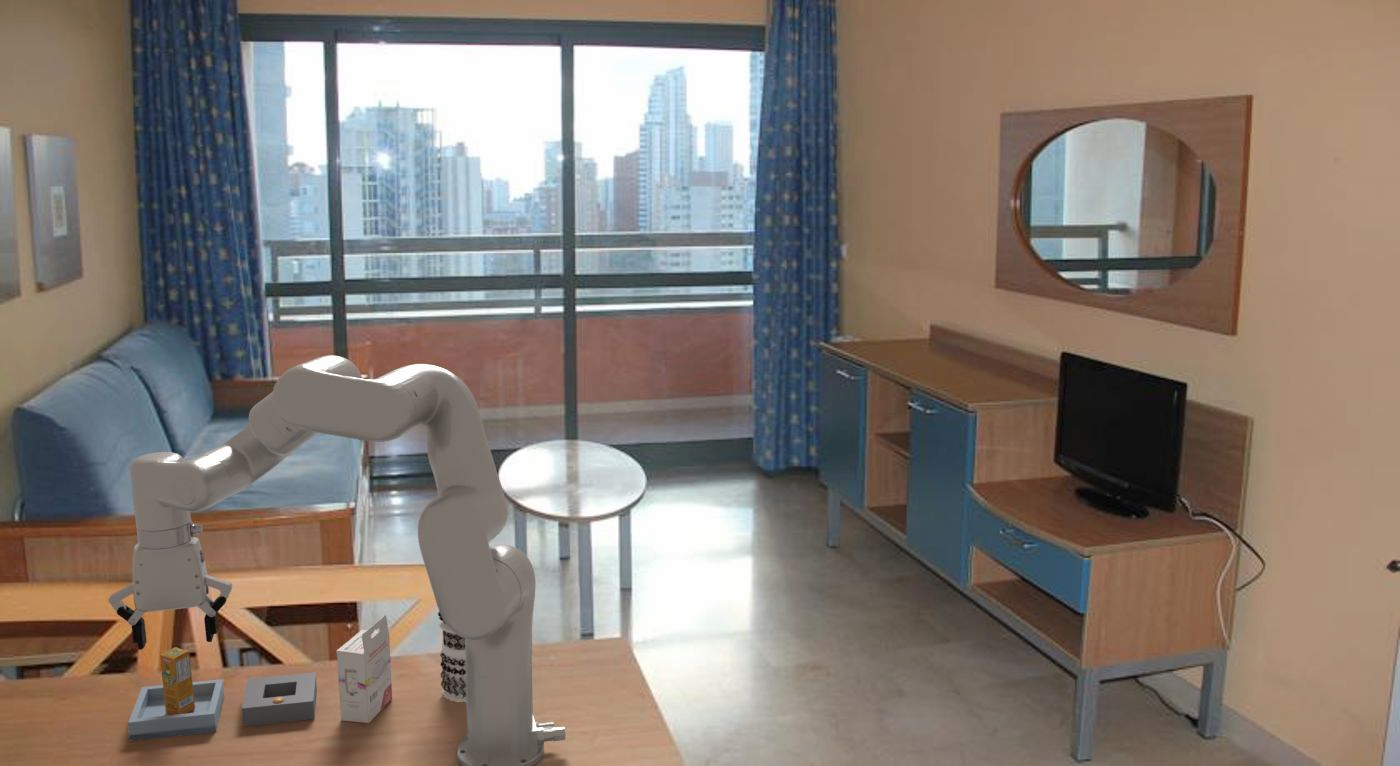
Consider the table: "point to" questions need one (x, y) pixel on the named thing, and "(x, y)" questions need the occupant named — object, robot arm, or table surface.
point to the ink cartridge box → (365, 673)
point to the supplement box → (177, 681)
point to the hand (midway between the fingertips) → (176, 642)
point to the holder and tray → (260, 704)
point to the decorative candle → (453, 664)
